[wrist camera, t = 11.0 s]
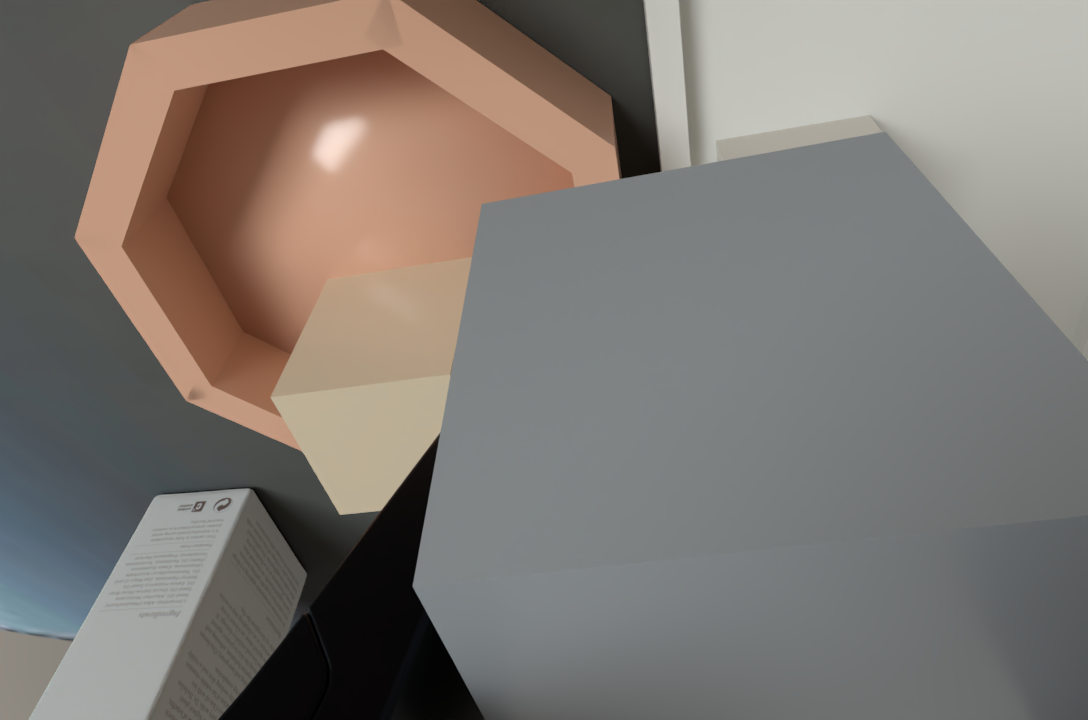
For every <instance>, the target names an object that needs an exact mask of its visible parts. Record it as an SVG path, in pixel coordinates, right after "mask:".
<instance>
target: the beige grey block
mask: <svg viewBox="0 0 1088 720" xmlns="http://www.w3.org/2000/svg"><path fill="white" fill-rule="evenodd" d="M880 132H882V130H881V129H880V128H879V126H878V125H877V124H876V123H875V121H874V120H873V119H872V117H871V116H870V115H866V116H860V117H854V118H848V119H842V120H836V121H830V122H824V123H818V124H812V125H806V126H800V127H794V128H788V129H782V130H776V131H770V132H764V133H758V134H752V135H746V136H739V137H733V138H727V139H721V140H716V149H717V162H719V161H724V160H730V159H735V158H741V157H746V156H752V155H758V154H763V153H769V152H774V151H780V150H785V149H791V148H797V147H802V146H808V145H813V144H819V143H825V142H830V141H836V140H841V139H847V138H852V137H858V136H864V135H869V134H875V133H880Z"/></svg>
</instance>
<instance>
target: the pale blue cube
mask: <svg viewBox="0 0 1088 720" xmlns="http://www.w3.org/2000/svg"><path fill="white" fill-rule="evenodd" d="M413 588H414V590H415V592H416V594H417V596H418V597H419V599H420V601H421V603H422V605H423V607H424V608H425V610H426V612H427V614H428V616H429V618H430V619H431V621H432V623H433V625H434V627H435V629H436V631H437V632H438V634H439V636H440V638H441V640H442V642H443V643H444V645H445V647H446V649H447V651H448V653H449V654H450V656H451V658H452V660H453V662H454V664H455V665H456V667H457V669H458V671H459V673H460V675H461V677H462V678H463V680H464V682H465V684H466V686H467V688H468V689H469V691H470V693H471V695H472V697H473V699H474V700H475V702H476V704H477V706H478V708H479V710H480V712H481V713H482V715H483V717H484V719H485V720H1088V361H1087V359H1086V358H1085V357H1084V356H1083V355H1082V354H1081V353H1080V351H1079V350H1078V349H1077V348H1076V347H1075V346H1074V345H1073V344H1072V342H1071V341H1070V340H1069V339H1068V338H1067V337H1066V336H1065V334H1064V333H1063V332H1062V331H1061V330H1060V329H1059V328H1058V327H1057V325H1056V324H1055V323H1054V322H1053V321H1052V320H1051V319H1050V317H1049V316H1048V315H1047V314H1046V313H1045V312H1044V311H1043V310H1042V308H1041V307H1040V306H1039V305H1038V304H1037V303H1036V302H1035V300H1034V299H1033V298H1032V297H1031V296H1030V295H1029V294H1028V293H1027V291H1026V290H1025V289H1024V288H1023V287H1022V286H1021V285H1020V283H1019V282H1018V281H1017V280H1016V279H1015V278H1014V277H1013V276H1012V274H1011V273H1010V272H1009V271H1008V270H1007V269H1006V268H1005V266H1004V265H1003V264H1002V263H1001V262H1000V261H999V260H998V259H997V257H996V256H995V255H994V254H993V253H992V252H991V251H990V250H989V248H988V247H987V246H986V245H985V244H984V243H983V242H982V240H981V239H980V238H979V237H978V236H977V235H976V234H975V233H974V231H973V230H972V229H971V228H970V227H969V226H968V225H967V223H966V222H965V221H964V220H963V219H962V218H961V217H960V216H959V214H958V213H957V212H956V211H955V210H954V209H953V208H952V206H951V205H950V204H949V203H948V202H947V201H946V200H945V199H944V197H943V196H942V195H941V194H940V193H939V192H938V191H937V189H936V188H935V187H934V186H933V185H932V184H931V183H930V182H929V180H928V179H927V178H926V177H925V176H924V175H923V174H922V172H921V171H920V170H919V169H918V168H917V167H916V166H915V165H914V163H913V162H912V161H911V160H910V159H909V158H908V157H907V155H906V154H905V153H904V152H903V151H902V150H901V149H900V148H899V146H898V145H897V144H896V143H895V142H894V141H893V140H892V138H891V137H890V136H889V135H888V134H887V133H886V132H880V133H875V134H869V135H864V136H858V137H852V138H847V139H841V140H836V141H830V142H825V143H819V144H813V145H808V146H802V147H797V148H791V149H785V150H780V151H774V152H769V153H763V154H758V155H752V156H746V157H741V158H735V159H730V160H724V161H719V162H713V163H707V164H702V165H696V166H691V167H685V168H679V169H674V170H668V171H663V172H657V173H652V174H646V175H640V176H635V177H629V178H624V179H618V180H613V181H607V182H601V183H596V184H590V185H585V186H579V187H573V188H568V189H562V190H557V191H551V192H546V193H540V194H534V195H529V196H523V197H518V198H512V199H507V200H501V201H495V202H490V203H484V204H482V205H481V211H480V216H479V222H478V227H477V233H476V238H475V244H474V249H473V255H472V260H471V266H470V272H469V277H468V283H467V288H466V294H465V299H464V305H463V310H462V316H461V321H460V327H459V332H458V338H457V343H456V349H455V355H454V360H453V366H452V371H451V377H450V382H449V388H448V393H447V399H446V404H445V410H444V415H443V421H442V426H441V432H440V438H439V443H438V449H437V454H436V460H435V465H434V471H433V476H432V482H431V487H430V493H429V498H428V504H427V509H426V515H425V521H424V526H423V532H422V537H421V543H420V548H419V554H418V559H417V565H416V570H415V576H414V581H413Z"/></svg>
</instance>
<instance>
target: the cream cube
mask: <svg viewBox="0 0 1088 720" xmlns="http://www.w3.org/2000/svg"><path fill="white" fill-rule="evenodd" d="M471 260H472V257H469V258H462V259H456V260H449V261H443V262H436V263H430V264H424V265H417V266H411V267H404V268H398V269H391V270H385V271H378V272H372V273H365V274H359V275H352V276H346V277H339V278H333V279H327V281H326V283H325V286H324V288H323V290H322V292H321V294H320V296H319V298H318V300H317V302H316V304H315V306H314V308H313V310H312V312H311V314H310V317H309V319H308V321H307V323H306V325H305V327H304V329H303V331H302V333H301V335H300V337H299V339H298V341H297V343H296V345H295V347H294V350H293V352H292V354H291V356H290V358H289V360H288V362H287V364H286V366H285V368H284V370H283V372H282V374H281V376H280V378H279V381H278V383H277V385H276V387H275V389H274V391H273V393H272V395H271V397H270V398H271V399H272V401H273V403H274V404H275V406H276V408H277V409H278V411H279V413H280V414H281V416H282V418H283V419H284V421H285V423H286V425H287V426H288V428H289V430H290V431H291V433H292V435H293V436H294V438H295V440H296V441H297V443H298V445H299V446H300V448H301V450H302V452H303V453H304V455H305V457H306V458H307V460H308V462H309V463H310V465H311V467H312V468H313V470H314V472H315V473H316V475H317V477H318V479H319V480H320V482H321V484H322V485H323V487H324V489H325V490H326V492H327V494H328V495H329V497H330V499H331V500H332V502H333V504H334V505H335V507H336V509H337V511H338V512H339V514H340V515H343V514H353V513H363V512H373V511H381V510H382V509H383V507H384V506H385V505H386V503H387V502H388V501H389V499H390V498H391V497H392V495H393V494H394V493H395V492H396V490H397V489H398V488H399V486H400V485H401V484H402V482H403V481H404V480H405V478H406V477H407V476H408V474H409V473H410V472H411V470H412V469H413V468H414V466H415V465H416V464H417V462H418V461H419V460H420V458H421V457H422V456H423V454H424V453H425V452H426V451H427V449H428V448H429V447H430V445H431V444H432V443H433V441H434V440H435V439H436V437H437V436H438V435H439V433H440V432H441V426H442V421H443V415H444V410H445V404H446V399H447V393H448V388H449V382H450V377H451V371H452V366H453V360H454V355H455V349H456V343H457V338H458V332H459V327H460V321H461V316H462V310H463V305H464V299H465V294H466V288H467V283H468V277H469V272H470V266H471Z"/></svg>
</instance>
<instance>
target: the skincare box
mask: <svg viewBox="0 0 1088 720" xmlns="http://www.w3.org/2000/svg"><path fill="white" fill-rule="evenodd" d="M306 577H307V573H306V572H305V570H304V569H303V567H302V566H301V564H300V563H299V561H298V560H297V558H296V557H295V555H294V553H293V552H292V550H291V549H290V547H289V545H288V544H287V542H286V541H285V539H284V538H283V536H282V535H281V533H280V532H279V530H278V528H277V527H276V525H275V524H274V522H273V521H272V519H271V518H270V516H269V515H268V513H267V511H266V510H265V508H264V507H263V505H262V503H261V502H260V500H259V499H258V497H257V496H256V494H255V492H254V491H253V490H252V489H249V488H245V489H229V490H218V491H205V492H193V493H178V494H163V495H158V496H156V497H155V498H154V499H153V501H152V502H151V504H150V506H149V507H148V509H147V511H146V513H145V515H144V517H143V518H142V520H141V522H140V524H139V525H138V527H137V529H136V531H135V533H134V534H133V536H132V538H131V540H130V541H129V543H128V545H127V547H126V548H125V550H124V552H123V554H122V556H121V557H120V559H119V561H118V562H117V564H116V566H115V568H114V570H113V571H112V573H111V575H110V577H109V579H108V580H107V582H106V584H105V586H104V587H103V589H102V591H101V593H100V594H99V596H98V598H97V600H96V601H95V603H94V605H93V607H92V609H91V610H90V612H89V614H88V616H87V617H86V619H85V621H84V623H83V624H82V626H81V628H80V630H79V631H78V633H77V635H76V637H75V638H74V640H73V642H72V644H71V646H70V648H69V649H68V651H67V653H66V654H65V656H64V658H63V660H62V662H61V663H60V665H59V667H58V669H57V670H56V672H55V674H54V676H53V678H52V679H51V681H50V683H49V685H48V686H47V689H46V690H45V692H44V693H43V695H42V697H41V699H40V700H39V702H38V704H37V706H36V707H35V710H34V711H33V713H32V715H31V716H30V718H29V720H218V719H219V718H220V716H221V715H222V714H223V713H224V712H225V711H226V709H227V708H228V707H229V706H230V705H231V704H232V703H233V701H234V700H235V699H236V698H237V697H238V696H239V694H240V693H241V692H242V691H243V690H244V689H245V687H246V686H247V685H248V684H249V682H250V681H251V680H252V679H253V677H254V676H255V675H256V674H257V672H258V671H259V670H260V668H261V667H262V666H263V665H264V663H265V662H266V661H267V660H268V658H269V657H270V656H271V655H272V653H273V652H274V651H275V650H276V648H277V647H278V646H279V644H280V643H281V642H282V641H283V639H284V638H285V637H286V635H287V634H288V631H289V628H290V625H291V622H292V619H293V616H294V613H295V610H296V607H297V604H298V601H299V599H300V596H301V593H302V590H303V587H304V584H305V580H306Z"/></svg>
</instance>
